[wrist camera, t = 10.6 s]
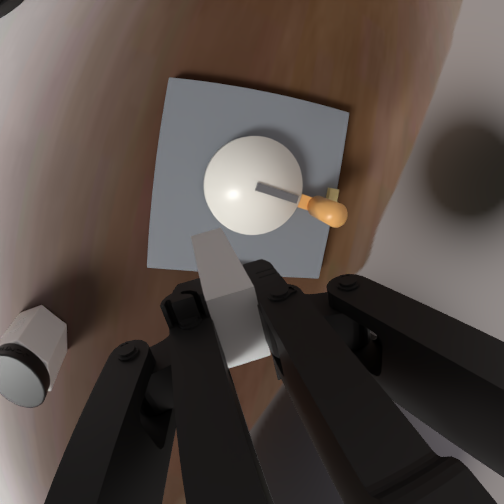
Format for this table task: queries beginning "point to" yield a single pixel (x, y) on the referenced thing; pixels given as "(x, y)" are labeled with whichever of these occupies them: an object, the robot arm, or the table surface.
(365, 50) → the table surface
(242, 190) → the dial
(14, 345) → the jar
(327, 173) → the panel
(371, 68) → the table surface
